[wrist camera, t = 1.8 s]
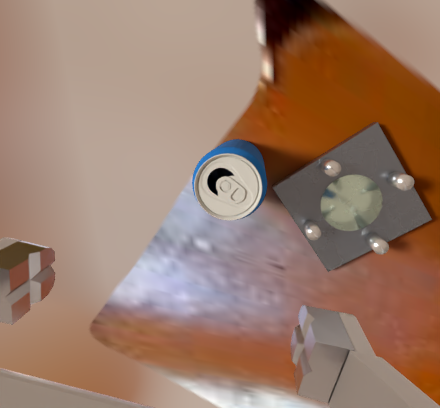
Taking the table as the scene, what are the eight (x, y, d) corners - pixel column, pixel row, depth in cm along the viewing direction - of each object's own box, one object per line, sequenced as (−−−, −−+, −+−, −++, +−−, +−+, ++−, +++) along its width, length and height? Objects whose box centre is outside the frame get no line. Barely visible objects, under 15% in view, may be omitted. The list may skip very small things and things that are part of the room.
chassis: (426, 216, 33) (445, 227, 30) (325, 267, 37) (333, 282, 33) (373, 122, 31) (387, 122, 28) (272, 185, 35) (273, 192, 31)
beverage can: (232, 127, 33) (220, 130, 22) (275, 161, 34) (284, 182, 22) (200, 170, 35) (174, 193, 24) (241, 201, 36) (234, 239, 24)
